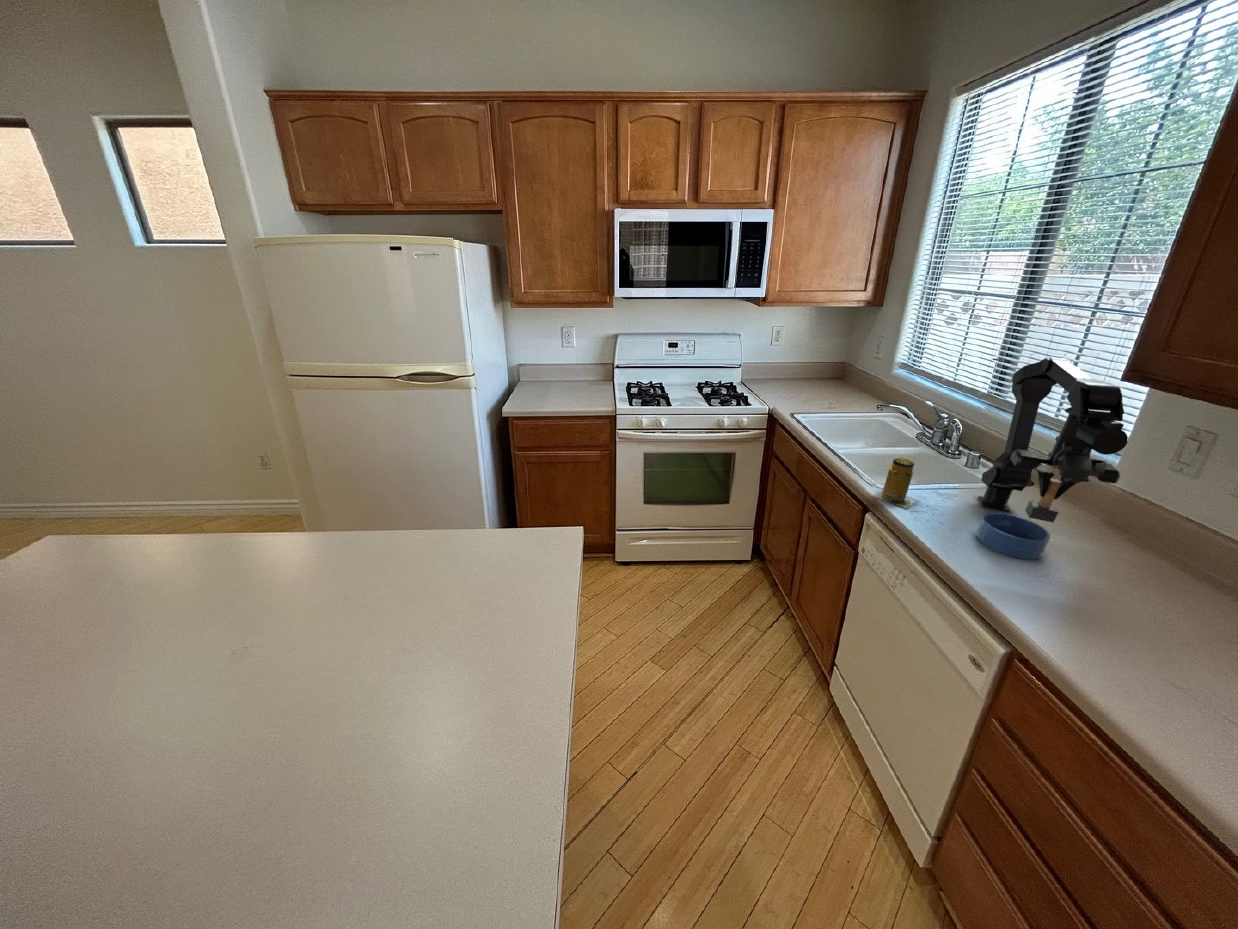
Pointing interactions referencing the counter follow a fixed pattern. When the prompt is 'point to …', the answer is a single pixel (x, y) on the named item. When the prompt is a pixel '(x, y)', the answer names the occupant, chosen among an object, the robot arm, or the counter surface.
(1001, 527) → the bowl
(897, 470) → the condiment
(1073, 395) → the robot arm
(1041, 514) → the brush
